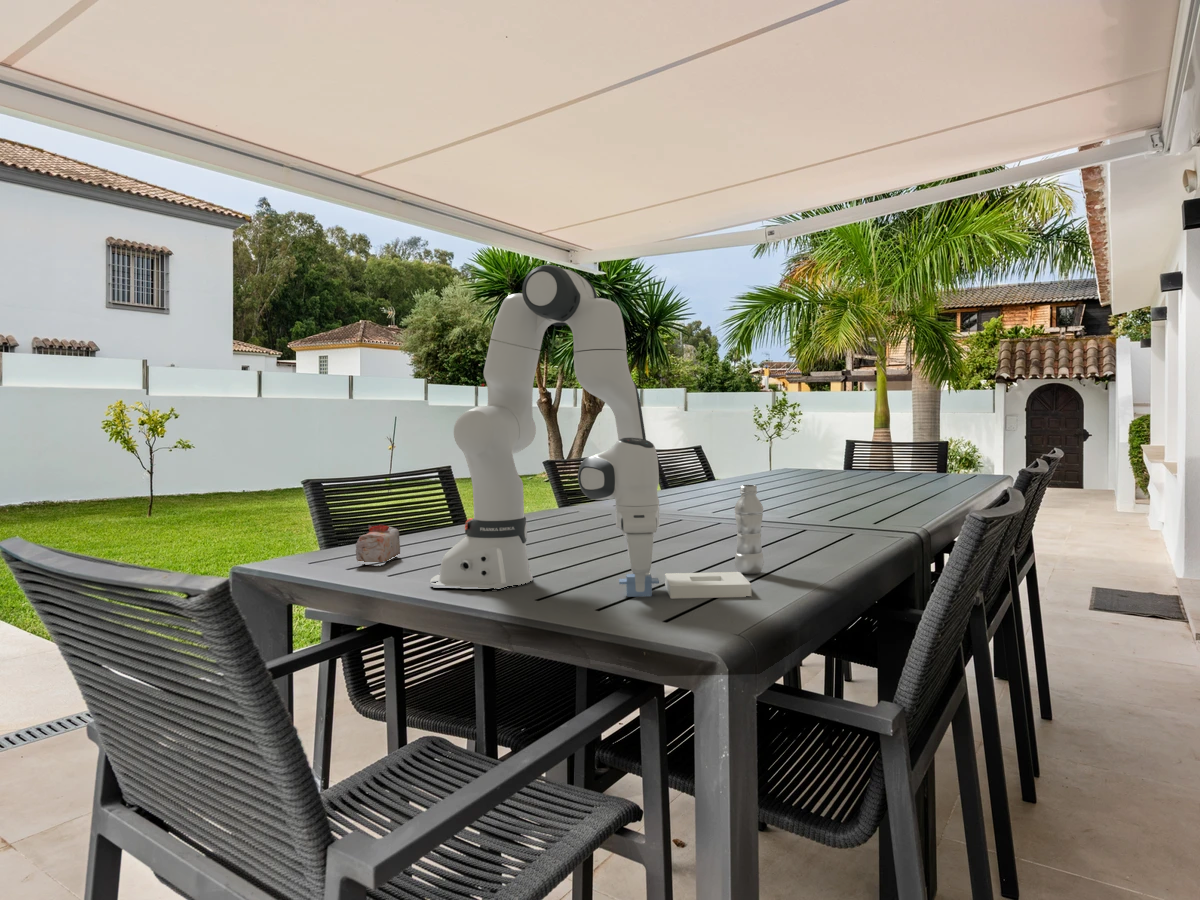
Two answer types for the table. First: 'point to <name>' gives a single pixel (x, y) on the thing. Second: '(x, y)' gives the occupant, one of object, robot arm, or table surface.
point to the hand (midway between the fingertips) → (638, 586)
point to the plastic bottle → (749, 531)
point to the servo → (631, 585)
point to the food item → (378, 544)
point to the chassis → (707, 585)
